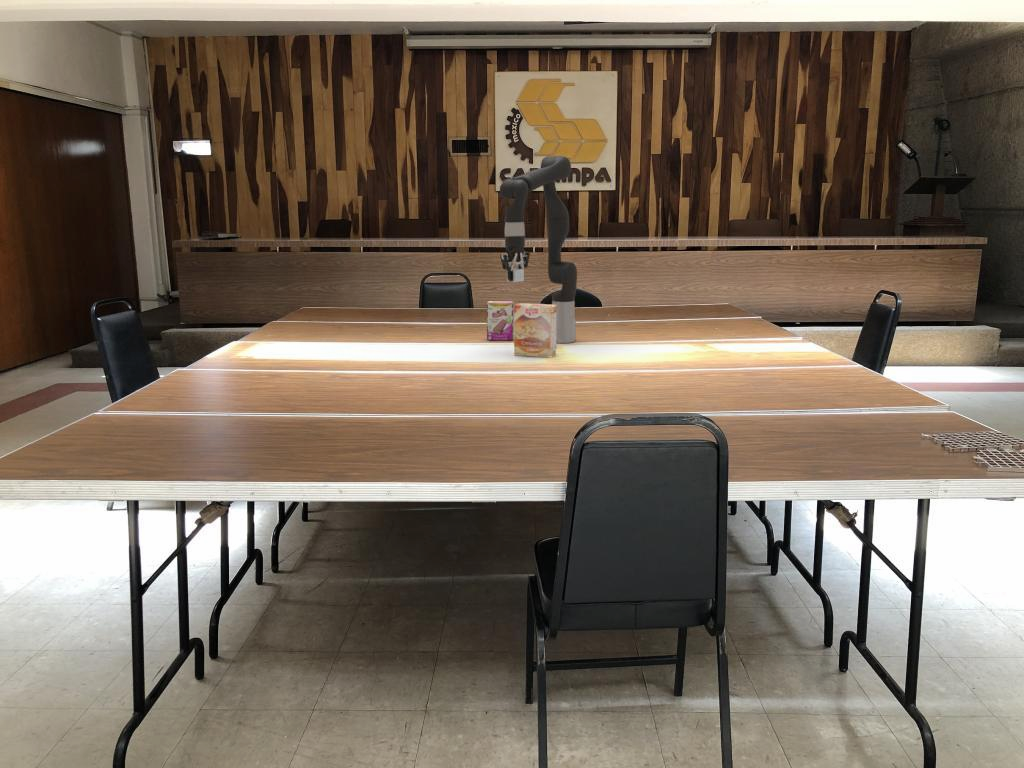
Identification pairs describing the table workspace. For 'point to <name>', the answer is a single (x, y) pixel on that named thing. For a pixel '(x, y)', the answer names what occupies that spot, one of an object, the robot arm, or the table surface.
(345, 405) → the table surface
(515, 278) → the blue-grey cube
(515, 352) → the coffeecake box
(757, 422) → the table surface
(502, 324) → the candy bar box
